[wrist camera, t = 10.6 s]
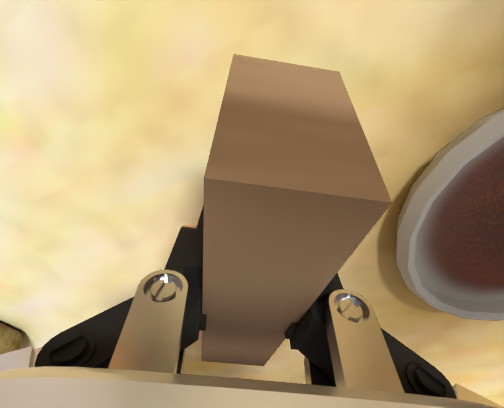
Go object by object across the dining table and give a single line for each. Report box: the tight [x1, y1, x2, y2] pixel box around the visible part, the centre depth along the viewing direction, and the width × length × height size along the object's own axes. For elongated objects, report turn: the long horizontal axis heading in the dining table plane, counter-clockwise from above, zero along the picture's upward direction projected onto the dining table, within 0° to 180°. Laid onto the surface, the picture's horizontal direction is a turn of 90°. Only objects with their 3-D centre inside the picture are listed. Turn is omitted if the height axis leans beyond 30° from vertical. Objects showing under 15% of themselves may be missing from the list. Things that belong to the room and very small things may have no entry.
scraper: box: [202, 54, 392, 366], centre depth 12 cm, size 18×7×5 cm, turn 171°
